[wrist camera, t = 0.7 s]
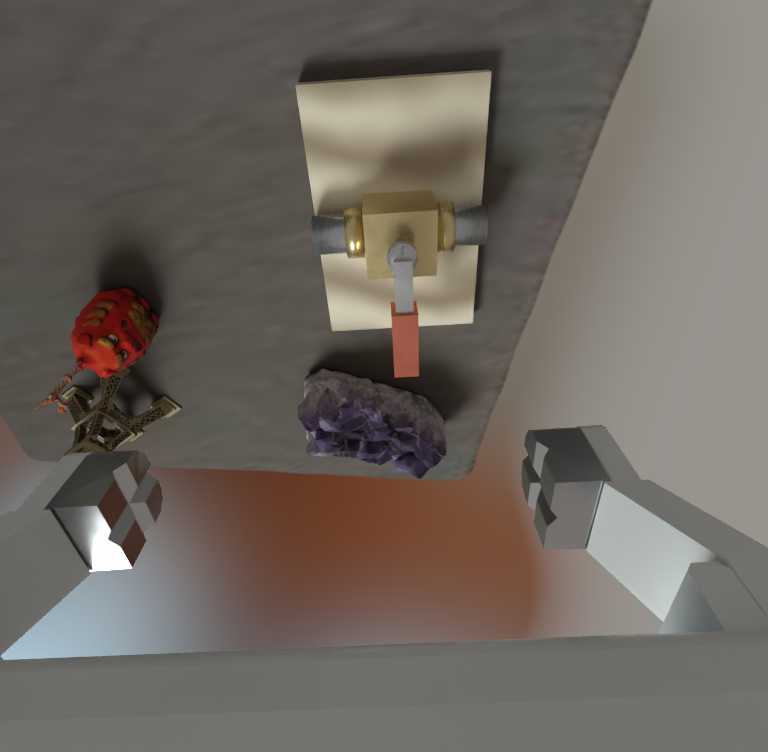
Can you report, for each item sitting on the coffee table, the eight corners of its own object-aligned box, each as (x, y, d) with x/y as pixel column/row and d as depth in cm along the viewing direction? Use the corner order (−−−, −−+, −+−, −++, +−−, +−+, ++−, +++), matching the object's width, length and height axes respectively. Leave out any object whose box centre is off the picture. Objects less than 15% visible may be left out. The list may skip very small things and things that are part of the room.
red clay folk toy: (174, 332, 54) (119, 422, 43) (122, 346, 56) (55, 438, 44) (135, 275, 50) (62, 358, 38) (79, 292, 51) (-9, 378, 39)
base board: (297, 82, 39) (295, 85, 38) (487, 69, 39) (491, 71, 38) (333, 324, 54) (332, 331, 53) (470, 316, 54) (472, 323, 53)
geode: (462, 384, 61) (473, 448, 54) (430, 435, 69) (436, 496, 62) (307, 353, 56) (298, 419, 49) (292, 411, 64) (283, 475, 57)
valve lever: (385, 234, 40) (386, 249, 37) (416, 232, 40) (418, 247, 37) (392, 358, 48) (393, 377, 46) (417, 357, 48) (420, 376, 46)
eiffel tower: (112, 355, 56) (-26, 540, 37) (182, 407, 62) (93, 592, 42) (62, 394, 60) (-87, 581, 41) (132, 439, 66) (30, 624, 46)
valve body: (312, 195, 44) (305, 218, 39) (481, 184, 44) (495, 206, 39) (321, 255, 48) (315, 282, 43) (477, 245, 47) (489, 272, 43)
